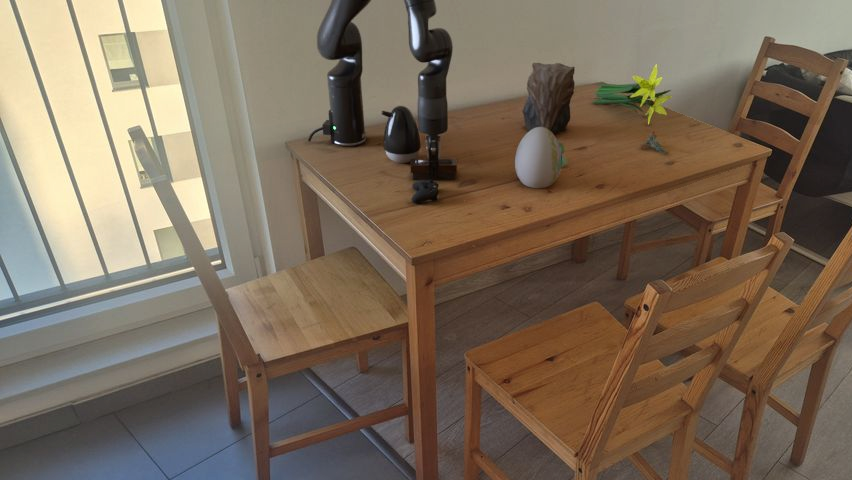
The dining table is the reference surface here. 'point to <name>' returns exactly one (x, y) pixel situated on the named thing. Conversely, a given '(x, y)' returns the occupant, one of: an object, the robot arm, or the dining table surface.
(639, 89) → the daffodil flowers
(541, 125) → the owl
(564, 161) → the seedling
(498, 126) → the dining table surface
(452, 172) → the scrub brush
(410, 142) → the pump dispenser
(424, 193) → the game controller
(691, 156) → the dining table surface
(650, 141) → the dragon figurine
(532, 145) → the decorative egg
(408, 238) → the dining table surface
